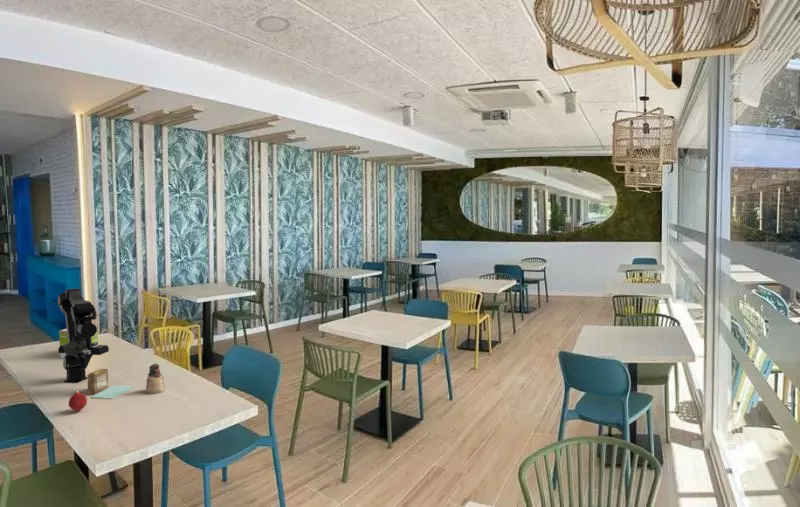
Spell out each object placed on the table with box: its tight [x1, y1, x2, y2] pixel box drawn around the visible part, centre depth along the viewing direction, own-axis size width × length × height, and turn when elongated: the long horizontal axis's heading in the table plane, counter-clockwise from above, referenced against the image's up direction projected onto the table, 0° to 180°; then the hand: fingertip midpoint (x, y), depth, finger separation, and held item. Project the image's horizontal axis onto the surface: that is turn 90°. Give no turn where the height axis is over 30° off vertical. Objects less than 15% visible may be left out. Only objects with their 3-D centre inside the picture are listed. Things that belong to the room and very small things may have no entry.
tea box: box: [58, 324, 99, 359], centre depth 256 cm, size 15×10×15 cm, turn 172°
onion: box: [68, 390, 88, 412], centre depth 185 cm, size 6×6×8 cm
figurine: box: [145, 363, 166, 395], centre depth 207 cm, size 7×7×12 cm
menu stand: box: [86, 368, 109, 396], centre depth 205 cm, size 3×8×9 cm, turn 175°
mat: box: [90, 384, 134, 400], centre depth 205 cm, size 9×14×1 cm, turn 175°
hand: (84, 368), depth 206 cm, fingers closed
